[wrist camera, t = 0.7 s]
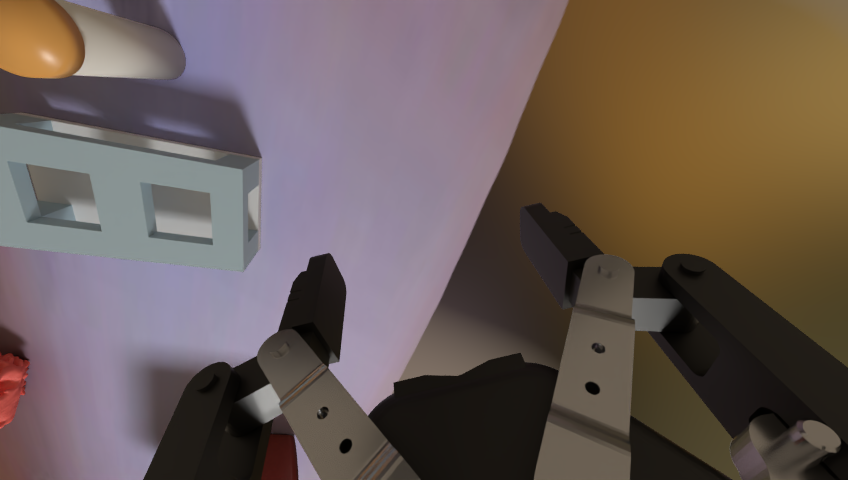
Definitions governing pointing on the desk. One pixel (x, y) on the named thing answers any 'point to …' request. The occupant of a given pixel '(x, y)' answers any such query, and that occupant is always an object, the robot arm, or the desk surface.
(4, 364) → the anatomical heart
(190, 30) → the desk surface
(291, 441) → the plant pot
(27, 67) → the orange ball-topped peg
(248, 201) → the grey hollow block
